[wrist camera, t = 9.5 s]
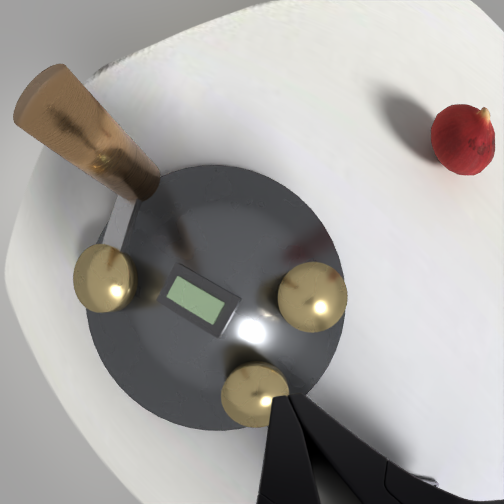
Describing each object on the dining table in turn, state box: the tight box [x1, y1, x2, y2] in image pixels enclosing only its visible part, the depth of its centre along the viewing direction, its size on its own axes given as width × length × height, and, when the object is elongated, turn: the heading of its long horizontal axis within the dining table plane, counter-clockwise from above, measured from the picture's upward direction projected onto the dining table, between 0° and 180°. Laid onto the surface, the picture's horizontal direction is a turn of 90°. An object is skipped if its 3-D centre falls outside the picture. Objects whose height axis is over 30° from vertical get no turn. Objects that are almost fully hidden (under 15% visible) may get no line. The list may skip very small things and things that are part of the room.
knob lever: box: [13, 64, 160, 313], centre depth 15 cm, size 12×5×13 cm, turn 165°
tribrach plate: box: [86, 165, 348, 431], centre depth 20 cm, size 20×20×3 cm
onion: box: [431, 104, 495, 175], centre depth 18 cm, size 6×6×8 cm
